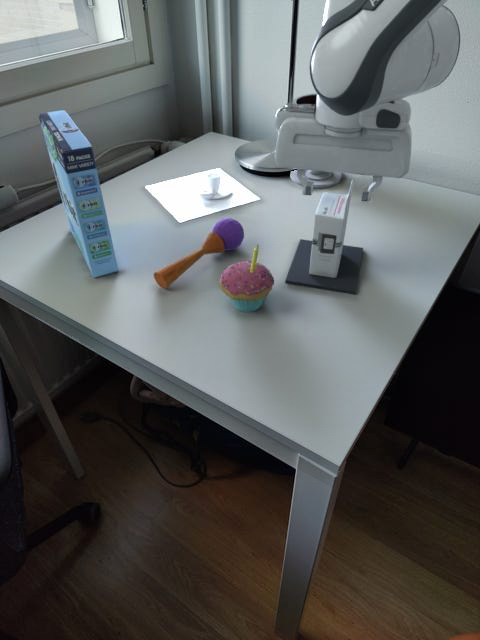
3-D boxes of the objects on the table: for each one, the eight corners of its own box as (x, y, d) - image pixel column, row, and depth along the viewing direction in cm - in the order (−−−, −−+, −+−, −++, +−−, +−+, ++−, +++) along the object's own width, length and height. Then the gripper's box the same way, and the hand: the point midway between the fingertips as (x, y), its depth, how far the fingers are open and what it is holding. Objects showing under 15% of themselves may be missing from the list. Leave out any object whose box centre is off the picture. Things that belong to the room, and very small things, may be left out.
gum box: (70, 229, 95) (35, 113, 80) (94, 223, 97) (65, 108, 82) (93, 279, 82) (57, 151, 67) (121, 271, 84) (92, 145, 69)
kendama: (144, 261, 79) (224, 210, 89) (155, 290, 82) (231, 237, 92) (165, 269, 75) (246, 215, 85) (176, 299, 79) (253, 243, 88)
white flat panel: (203, 204, 102) (202, 187, 99) (188, 191, 107) (186, 174, 105) (238, 195, 105) (237, 178, 103) (221, 182, 111) (220, 165, 108)
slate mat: (362, 250, 88) (363, 247, 87) (355, 294, 78) (355, 291, 77) (300, 241, 90) (300, 239, 90) (285, 283, 80) (285, 280, 80)
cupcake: (281, 297, 77) (285, 235, 69) (255, 326, 72) (256, 263, 64) (238, 281, 81) (237, 220, 73) (210, 308, 75) (205, 245, 67)
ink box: (316, 249, 87) (324, 174, 77) (342, 253, 86) (354, 177, 76) (308, 274, 81) (315, 196, 71) (336, 279, 80) (348, 200, 70)
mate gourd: (343, 191, 106) (356, 98, 93) (283, 186, 108) (287, 95, 95) (345, 164, 117) (357, 78, 104) (291, 160, 120) (296, 75, 106)
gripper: (270, 108, 66) (269, 198, 75) (421, 118, 61) (400, 212, 70) (280, 96, 70) (278, 182, 79) (421, 104, 66) (401, 194, 75)
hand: (336, 196), depth 75 cm, fingers open, 8 cm apart
